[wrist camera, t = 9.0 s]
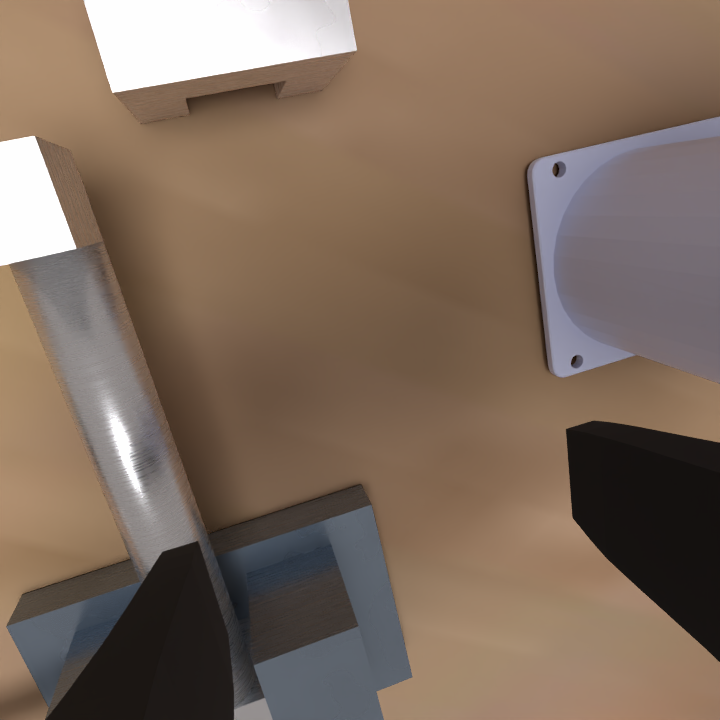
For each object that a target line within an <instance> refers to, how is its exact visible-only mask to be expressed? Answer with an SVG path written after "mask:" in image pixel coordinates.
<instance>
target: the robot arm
mask: <svg viewBox="0 0 720 720" xmlns="http://www.w3.org/2000/svg"><path fill="white" fill-rule="evenodd" d="M555 163H557V164H558V166H559V174H558V175H557V177H555V176H554V175H553V172H552V169H553V166H554V164H555ZM527 178H528V187H529V196H530V205H531V214H532V223H533V233H534V242H535V251H536V260H537V269H538V278H539V287H540V296H541V305H542V314H543V323H544V332H545V341H546V351H547V360H548V367H549V370H550V372H551V373H552V374H554V375H556V376H558V377H567V376H571V375H574V374H577V373H580V372H584V371H587V370H590V369H593V368H596V367H600V366H603V365H606V364H609V363H613V362H616V361H619V360H622V359H625V358H629V357H632V356H635V355H638V356H641V357H644V358H647V359H650V360H653V361H656V362H659V363H662V364H664V365H667V366H670V367H673V368H676V369H679V370H682V371H685V372H688V373H690V374H693V375H696V376H699V377H702V378H705V379H708V380H711V381H714V382H717V383H719V384H720V116H719V117H715V118H710V119H706V120H702V121H697V122H693V123H689V124H684V125H680V126H676V127H671V128H667V129H663V130H658V131H654V132H650V133H645V134H641V135H637V136H632V137H628V138H624V139H619V140H615V141H611V142H606V143H602V144H598V145H593V146H589V147H585V148H580V149H576V150H572V151H567V152H563V153H559V154H554V155H550V156H546V157H541V158H538V159H536V160H534V161H533V162H532V163H531V164H530V166H529V168H528V173H527ZM575 355H576V356H577V359H576V362H575V363H574V364H573V365H571V360H572V358H573V357H574V356H575ZM566 435H567V448H568V462H569V475H570V489H571V503H572V516H573V519H574V520H575V521H576V522H577V524H578V525H579V526H580V527H581V529H582V530H583V531H584V532H585V534H586V535H587V536H588V537H589V539H590V540H591V541H592V542H593V543H594V544H595V545H596V547H597V548H598V549H599V550H600V551H601V552H602V553H603V555H604V556H605V557H606V558H607V559H608V560H609V561H610V562H611V563H612V564H613V565H614V566H615V567H616V568H618V569H619V570H620V571H621V572H622V573H623V574H624V575H625V576H626V577H627V578H628V579H629V580H631V581H632V582H633V583H634V584H635V585H636V586H637V587H638V588H639V589H640V590H641V591H643V592H644V593H645V594H646V595H647V596H648V597H649V598H650V599H651V600H653V601H654V602H655V603H656V604H657V605H658V606H659V607H660V608H661V609H663V610H664V611H665V612H666V613H667V614H668V615H669V616H670V617H671V618H672V619H674V620H675V621H676V622H677V623H678V624H679V625H680V626H681V627H682V628H684V629H685V630H686V631H687V632H688V633H689V634H690V635H691V636H692V637H693V638H695V639H696V640H697V641H698V642H699V643H700V644H701V645H702V646H703V647H705V648H706V649H707V650H708V651H709V652H710V653H711V654H712V655H713V656H714V657H715V658H716V659H717V660H718V661H719V662H720V443H718V442H713V441H708V440H703V439H697V438H692V437H687V436H682V435H677V434H672V433H667V432H662V431H657V430H651V429H646V428H641V427H636V426H630V425H624V424H618V423H611V422H602V421H591V422H587V423H584V424H581V425H578V426H574V427H571V428H568V429H566ZM45 720H234V685H233V674H232V664H231V654H230V645H229V635H228V632H227V629H226V626H225V622H224V619H223V616H222V613H221V610H220V607H219V604H218V601H217V598H216V594H215V591H214V588H213V585H212V582H211V579H210V576H209V573H208V569H207V566H206V563H205V560H204V557H203V554H202V551H201V548H200V545H199V541H196V542H193V543H189V544H186V545H183V546H179V547H176V548H173V549H170V550H166V551H163V552H162V553H161V555H160V556H159V558H158V559H157V561H156V562H155V564H154V565H153V567H152V568H151V570H150V571H149V573H148V574H147V576H146V578H145V579H144V581H143V582H142V584H141V585H140V587H139V589H138V590H137V592H136V593H135V595H134V597H133V598H132V600H131V601H130V603H129V604H128V606H127V607H126V609H125V611H124V612H123V614H122V615H121V617H120V618H119V620H118V621H117V623H116V624H115V626H114V627H113V629H112V630H111V632H110V633H109V635H108V636H107V638H106V639H105V641H104V642H103V644H102V645H101V646H100V648H99V649H98V650H97V652H96V653H95V655H94V656H93V657H92V659H91V660H90V661H89V663H88V664H87V665H86V667H85V668H84V670H83V671H82V672H81V674H80V675H79V676H78V678H77V679H76V680H75V682H74V683H73V685H72V686H71V687H70V689H69V690H68V691H67V693H66V694H65V695H64V697H63V698H62V699H61V701H60V702H59V703H58V704H57V706H56V707H55V708H54V710H53V711H52V712H51V713H50V715H49V716H48V717H47V718H46V719H45Z"/></svg>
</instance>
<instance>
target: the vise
mask: <svg viewBox="0 0 720 720" xmlns="http://www.w3.org/2000/svg"><path fill="white" fill-rule="evenodd" d="M5 264H9V266H10V268H11V270H12V273H13V275H14V278H15V280H16V283H17V285H18V287H19V290H20V292H21V295H22V297H23V299H24V302H25V304H26V307H27V309H28V312H29V314H30V316H31V319H32V321H33V324H34V326H35V329H36V331H37V333H38V336H39V338H40V341H41V343H42V345H43V348H44V350H45V353H46V355H47V358H48V360H49V362H50V365H51V367H52V370H53V372H54V375H55V377H56V379H57V382H58V384H59V387H60V389H61V391H62V394H63V396H64V399H65V401H66V404H67V406H68V408H69V411H70V413H71V416H72V418H73V421H74V423H75V425H76V428H77V430H78V433H79V435H80V437H81V440H82V442H83V445H84V447H85V450H86V452H87V454H88V457H89V459H90V462H91V464H92V466H93V469H94V471H95V474H96V476H97V479H98V481H99V483H100V486H101V488H102V491H103V493H104V496H105V498H106V500H107V503H108V505H109V508H110V510H111V512H112V515H113V517H114V520H115V522H116V525H117V527H118V529H119V532H120V534H121V537H122V539H123V542H124V544H125V546H126V549H127V551H128V554H129V556H130V558H131V559H130V560H127V561H124V562H121V563H118V564H115V565H112V566H109V567H106V568H103V569H100V570H97V571H93V572H90V573H87V574H84V575H81V576H78V577H75V578H72V579H69V580H66V581H63V582H60V583H57V584H53V585H50V586H47V587H44V588H41V589H38V590H35V591H32V592H29V593H26V594H23V595H22V597H21V598H20V600H19V602H18V604H17V606H16V608H15V610H14V612H13V614H12V616H11V618H10V620H9V622H8V624H7V626H6V627H7V629H8V631H9V633H10V635H11V636H12V638H13V640H14V642H15V644H16V646H17V648H18V650H19V652H20V654H21V656H22V657H23V659H24V661H25V663H26V665H27V667H28V669H29V671H30V673H31V675H32V677H33V678H34V680H35V682H36V684H37V686H38V688H39V690H40V692H41V694H42V696H43V698H44V700H45V701H46V703H47V705H48V707H49V709H48V712H47V715H46V718H47V717H48V716H49V715H50V713H51V712H52V711H53V710H54V708H55V707H56V706H57V704H58V703H59V702H60V701H61V699H62V698H63V697H64V695H65V694H66V693H67V691H68V690H69V689H70V687H71V686H72V685H73V683H74V682H75V680H76V679H77V678H78V676H79V675H80V674H81V672H82V671H83V670H84V668H85V667H86V665H87V664H88V663H89V661H90V660H91V659H92V657H93V656H94V655H95V653H96V652H97V650H98V649H99V648H100V646H101V645H102V644H103V642H104V641H105V639H106V638H107V636H108V635H109V633H110V632H111V630H112V629H113V627H114V626H115V624H116V623H117V621H118V620H119V618H120V617H121V615H122V614H123V612H124V611H125V609H126V607H127V606H128V604H129V603H130V601H131V600H132V598H133V597H134V595H135V593H136V592H137V590H138V589H139V587H140V585H141V584H142V582H143V581H144V579H145V578H146V576H147V574H148V573H149V571H150V570H151V568H152V567H153V565H154V564H155V562H156V561H157V559H158V558H159V556H160V555H161V553H162V552H163V551H166V550H170V549H173V548H176V547H179V546H183V545H186V544H189V543H193V542H196V541H199V545H200V548H201V551H202V554H203V557H204V560H205V563H206V566H207V569H208V573H209V576H210V579H211V582H212V585H213V588H214V591H215V594H216V598H217V601H218V604H219V607H220V610H221V613H222V616H223V619H224V622H225V626H226V629H227V632H228V635H229V645H230V654H231V664H232V674H233V685H234V720H384V719H383V715H382V711H381V708H380V704H379V700H378V696H377V693H376V691H379V690H381V689H384V688H386V687H389V686H391V685H394V684H396V683H399V682H401V681H404V680H407V679H409V678H412V673H411V669H410V665H409V660H408V656H407V652H406V648H405V644H404V639H403V635H402V631H401V627H400V623H399V618H398V614H397V610H396V606H395V601H394V597H393V593H392V589H391V585H390V580H389V576H388V572H387V568H386V564H385V559H384V555H383V551H382V547H381V543H380V538H379V534H378V530H377V526H376V522H375V517H374V513H373V509H372V505H371V503H370V501H369V499H368V497H367V495H366V493H365V491H364V489H363V487H362V486H361V485H358V486H355V487H352V488H349V489H346V490H342V491H339V492H336V493H333V494H330V495H327V496H324V497H321V498H318V499H315V500H312V501H309V502H306V503H302V504H299V505H296V506H293V507H290V508H287V509H284V510H281V511H278V512H275V513H272V514H269V515H266V516H263V517H259V518H256V519H253V520H250V521H247V522H244V523H241V524H238V525H235V526H232V527H229V528H226V529H223V530H219V531H216V532H213V533H210V534H207V532H206V529H205V526H204V523H203V521H202V518H201V515H200V512H199V509H198V506H197V504H196V501H195V498H194V495H193V492H192V490H191V487H190V484H189V481H188V478H187V475H186V473H185V470H184V467H183V464H182V461H181V458H180V456H179V453H178V450H177V447H176V444H175V442H174V439H173V436H172V433H171V430H170V427H169V425H168V422H167V419H166V416H165V413H164V410H163V408H162V405H161V402H160V399H159V396H158V394H157V391H156V388H155V385H154V382H153V379H152V377H151V374H150V371H149V368H148V365H147V362H146V360H145V357H144V354H143V351H142V348H141V345H140V343H139V340H138V337H137V334H136V331H135V329H134V326H133V323H132V320H131V317H130V314H129V312H128V309H127V306H126V303H125V300H124V297H123V295H122V292H121V289H120V286H119V283H118V281H117V278H116V275H115V272H114V269H113V266H112V264H111V261H110V258H109V255H108V252H107V249H106V247H105V244H104V241H103V238H102V235H101V233H100V230H99V227H98V224H97V221H96V218H95V216H94V213H93V210H92V207H91V204H90V201H89V199H88V196H87V193H86V190H85V187H84V185H83V182H82V179H81V176H80V174H79V173H78V170H77V167H76V164H75V162H74V159H73V156H72V153H71V150H68V149H66V148H63V147H61V146H58V145H56V144H53V143H51V142H48V141H46V140H43V139H41V138H39V137H36V136H31V137H26V138H20V139H15V140H10V141H5V142H0V266H1V265H5ZM46 718H45V719H46Z"/></svg>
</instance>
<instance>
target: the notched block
mask: <svg viewBox="0 0 720 720" xmlns="http://www.w3.org/2000/svg"><path fill="white" fill-rule="evenodd" d="M84 3H85V6H86V9H87V13H88V16H89V19H90V22H91V25H92V28H93V32H94V35H95V38H96V41H97V44H98V48H99V51H100V54H101V57H102V60H103V63H104V67H105V70H106V73H107V76H108V79H109V83H110V86H111V89H112V92H113V93H114V95H115V96H116V97H117V98H118V99H119V100H120V101H121V102H122V103H123V104H124V106H125V107H126V108H127V109H128V110H129V111H130V112H131V113H132V114H133V116H134V117H135V118H136V119H137V120H138V121H139V122H140V123H141V124H143V123H148V122H154V121H159V120H165V119H170V118H176V117H181V116H187V115H190V113H189V110H188V106H187V102H186V98H191V97H197V96H203V95H208V94H214V93H220V92H225V91H231V90H236V89H242V88H248V87H253V86H259V85H265V84H270V83H273V84H274V88H275V92H276V97H277V99H280V98H285V97H290V96H296V95H301V94H307V93H312V92H318V91H322V90H323V89H324V88H325V87H326V85H327V84H328V83H329V82H330V81H331V80H332V79H333V77H334V76H335V75H336V74H337V73H338V72H339V71H340V69H341V68H342V67H343V66H344V65H345V64H346V63H347V61H348V60H349V59H350V58H351V57H352V56H353V55H354V53H355V52H356V51H357V48H356V42H355V37H354V31H353V26H352V20H351V15H350V9H349V4H348V0H84Z"/></svg>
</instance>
